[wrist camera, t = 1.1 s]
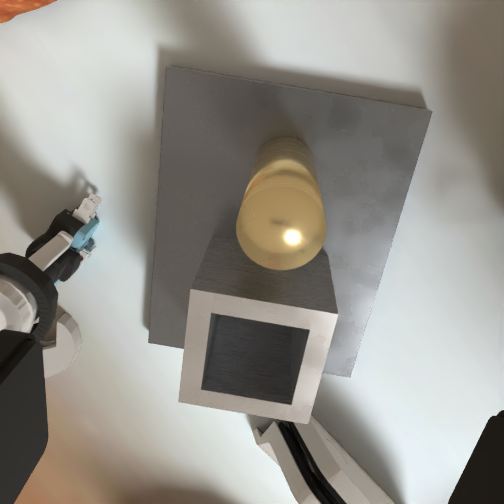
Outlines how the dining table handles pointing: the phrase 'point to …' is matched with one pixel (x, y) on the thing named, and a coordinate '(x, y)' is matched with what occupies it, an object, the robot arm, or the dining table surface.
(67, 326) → the adjustable wrench
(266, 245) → the brass pin
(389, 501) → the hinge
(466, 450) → the dining table surface
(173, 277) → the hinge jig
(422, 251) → the dining table surface
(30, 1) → the bread slice
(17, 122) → the dining table surface
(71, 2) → the dining table surface
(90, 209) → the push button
